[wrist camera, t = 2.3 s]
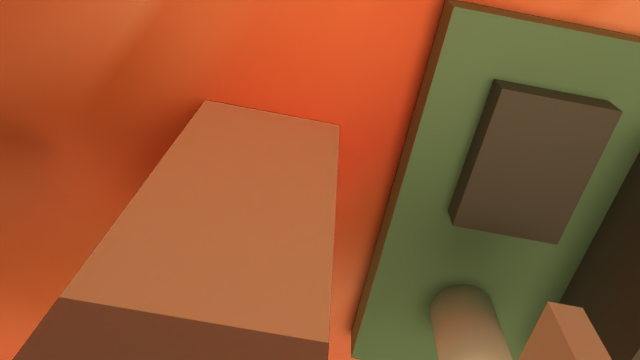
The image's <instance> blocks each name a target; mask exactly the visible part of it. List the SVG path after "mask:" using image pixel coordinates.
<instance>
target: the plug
mask: <svg viewBox="0 0 640 360" xmlns="http://www.w3.org/2000/svg"><path fill="white" fill-rule="evenodd" d="M339 134H340V125H337V124H332V123H326V122H321V121H316V120H310V119H305V118H300V117H294V116H289V115H284V114H278V113H273V112H267V111H262V110H257V109H251V108H246V107H241V106H235V105H230V104H225V103H219V102H214V101H208V100H205V101H204V102H203V104H202V105H201V106H200V108H199V109H198V110H197V112H196V113H195V115H194V116H193V117H192V119H191V120H190V121H189V123H188V124H187V125H186V127H185V128H184V129H183V131H182V132H181V133H180V135H179V136H178V137H177V139H176V140H175V141H174V143H173V144H172V146H171V147H170V148H169V150H168V151H167V152H166V154H165V155H164V156H163V158H162V159H161V160H160V162H159V163H158V164H157V166H156V167H155V168H154V170H153V171H152V172H151V174H150V175H149V177H148V178H147V179H146V181H145V182H144V183H143V185H142V186H141V187H140V189H139V190H138V191H137V193H136V194H135V195H134V197H133V198H132V199H131V201H130V202H129V203H128V205H127V206H126V208H125V209H124V210H123V212H122V213H121V214H120V216H119V217H118V218H117V220H116V221H115V222H114V224H113V225H112V226H111V228H110V229H109V230H108V232H107V233H106V234H105V236H104V237H103V239H102V240H101V241H100V243H99V244H98V245H97V247H96V248H95V249H94V251H93V252H92V253H91V255H90V256H89V257H88V259H87V260H86V261H85V263H84V264H83V265H82V267H81V268H80V270H79V271H78V272H77V274H76V275H75V276H74V278H73V279H72V280H71V282H70V283H69V284H68V286H67V287H66V288H65V290H64V291H63V292H62V294H61V295H60V296H59V298H58V299H57V301H56V302H55V303H54V305H53V306H52V307H51V309H50V310H49V311H48V313H47V314H46V315H45V317H44V318H43V319H42V321H41V322H40V323H39V325H38V326H37V327H36V329H35V330H34V332H33V333H32V334H31V336H30V337H29V338H28V340H27V341H26V342H25V344H24V345H23V346H22V348H21V349H20V350H19V352H18V353H17V354H16V356H15V357H14V358H13V360H328V349H329V330H330V310H331V291H332V271H333V251H334V232H335V212H336V193H337V173H338V153H339Z"/></svg>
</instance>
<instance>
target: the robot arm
mask: <svg viewBox="0 0 640 360" xmlns="http://www.w3.org/2000/svg"><path fill="white" fill-rule="evenodd" d="M518 360H612V359H611V357H610V356H609V354H608V352H607V350H606V348H605V347H604V345H603V343H602V341H601V340H600V338H599V336H598V334H597V332H596V331H595V329H594V327H593V325H592V324H591V322H590V320H589V318H588V316H587V315H586V313H585V311H584V309H583V308H581V307H575V306H570V305H564V304H559V303H554V302H547V304H546V306H545V308H544V310H543V312H542V314H541V316H540V318H539V320H538V322H537V324H536V326H535V328H534V330H533V332H532V334H531V336H530V337H529V339H528V341H527V343H526V345H525V347H524V349H523V351H522V353H521V355H520V357H519V359H518Z"/></svg>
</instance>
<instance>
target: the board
mask: <svg viewBox="0 0 640 360" xmlns="http://www.w3.org/2000/svg"><path fill="white" fill-rule="evenodd" d="M547 302H554V303H559V304H564V305H570V306H575V307H581V308H583V309H584V311H585V313H586V315H587V316H588V318H589V320H590V322H591V324H592V325H593V327H594V329H595V331H596V332H597V334H598V336H599V338H600V340H601V341H602V343H603V345H604V347H605V348H606V350H607V352H608V354H609V356H610V357H611V359H612V360H640V36H635V35H630V34H625V33H620V32H614V31H609V30H604V29H599V28H594V27H589V26H584V25H579V24H574V23H569V22H564V21H559V20H554V19H549V18H543V17H538V16H533V15H528V14H523V13H518V12H513V11H508V10H503V9H498V8H493V7H488V6H483V5H478V4H472V3H467V2H462V1H457V0H445V3H444V7H443V10H442V14H441V17H440V21H439V24H438V28H437V31H436V35H435V39H434V42H433V46H432V49H431V53H430V56H429V60H428V63H427V67H426V70H425V74H424V77H423V81H422V84H421V88H420V91H419V95H418V99H417V102H416V106H415V109H414V113H413V116H412V120H411V123H410V127H409V130H408V134H407V137H406V141H405V144H404V148H403V151H402V155H401V159H400V162H399V166H398V169H397V173H396V176H395V180H394V183H393V187H392V190H391V194H390V197H389V201H388V204H387V208H386V211H385V215H384V219H383V222H382V226H381V229H380V233H379V236H378V240H377V243H376V247H375V250H374V254H373V257H372V261H371V264H370V268H369V271H368V275H367V279H366V282H365V286H364V289H363V293H362V296H361V300H360V303H359V307H358V310H357V314H356V317H355V321H354V324H353V328H352V331H351V358H355V359H361V360H518V359H519V357H520V355H521V353H522V351H523V349H524V347H525V345H526V343H527V341H528V339H529V337H530V336H531V334H532V332H533V330H534V328H535V326H536V324H537V322H538V320H539V318H540V316H541V314H542V312H543V310H544V308H545V306H546V304H547Z"/></svg>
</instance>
